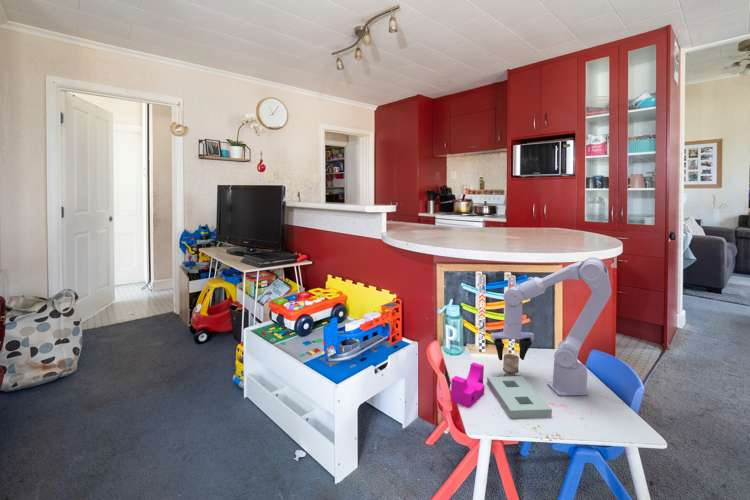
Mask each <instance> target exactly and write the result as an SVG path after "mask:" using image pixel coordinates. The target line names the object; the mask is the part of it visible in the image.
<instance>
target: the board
mask: <svg viewBox="0 0 750 500" xmlns="http://www.w3.org/2000/svg"><path fill="white" fill-rule="evenodd" d="M486 385H487V386H488V388H489V389H490V390H491V392H492V394H493V395H494V397H495V398H496V399H497V401H498V402H499V404H500V405H501V407H502V408H503V410H504V412H505V413H506V414H507V416H508V417H509V419H512V420H513V419H542V418H547V419H548V418H552V414H553V410H552V409H553V408H551V407H550V405H549V404H548V403H547V402H546V400H544V398H543V397H542V396H541V395H540V394H539V393H538V392H537V391H536V390H535V388H533V386H532V385H531V384H530V383H529V382H528V380H526V379H525V377H524V376H522V375H515V376H487V377H486Z"/></svg>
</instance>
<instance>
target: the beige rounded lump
mask: <svg viewBox="0 0 750 500" xmlns="http://www.w3.org/2000/svg"><path fill="white" fill-rule="evenodd" d="M502 361H503V362H502V363H503V365H502V366H503V367H502V370H503V371H504V373H506V374H505V375H506V376H516V374H518V373H519V362H520V356H519V355H517V354H514V353H505V354H503V360H502ZM506 376H505V377H506Z"/></svg>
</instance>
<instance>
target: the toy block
mask: <svg viewBox="0 0 750 500" xmlns="http://www.w3.org/2000/svg"><path fill="white" fill-rule="evenodd" d="M484 367H485V365H483V364H481V363H477V362H471V363H470V367H469V372H468V375H467V377H466V378H465V377H461V376H458V375H455V376H453V377H452V378H451V379H450V381H451V382H450V383H451V387H450V389H451V390H450V401H451V402H453V403H456V404H458V405H461V406H463V407H466V408H469V409H470V408H471V407H473V405H474V404H476V403H477V401H479V400H480V399H481V398H482V397H483V396H484V395H485V384H484V372H485V370H484V369H485V368H484Z"/></svg>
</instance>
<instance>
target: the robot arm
mask: <svg viewBox="0 0 750 500" xmlns="http://www.w3.org/2000/svg"><path fill="white" fill-rule="evenodd" d="M609 274H610V273H609V269H608V267H607V266H606V264H605V263H604V262H603V260H601V258H599V257H588V258H587V259H585V260H584V261H583V260H580V261H576V262H575V263H571V264H569V265H567V266H565V267H563V268H561V269H559V270H557V271H555V272H553V273H551V274H548V275H546V276H544V277H542V278H541V277H538V276H535V277H533V276H530V277H528V278H527V280H526V281H523V282H521V283H516V284H514V286H511V287H510V288H508V289H507V290H506V291H505V292H504V294H503V300H504V302H505V303H504V314H503V315H504V317H503V331H499V332H491V333H490V339H491V341H492V342H493V343H494V346H495V348H496V352H497V359H498V360H499V361H503V359H504V352H503V351H504V347H505V343H504V342H503V341H505V340H519V355H518V357H519V359H520V360H522V361H524V360H525V357H526V354H527V352H528V350H529V349H530V348H531V346H532V344H533V340H534V339H535V334H534V333H533V332H525V331H522V327H523V326H522V324H523V302H524V301H529V300H530V299H533V298H535V297H538V296H540V295H543V294H544V293H545V292H546V289H547V288H548V287H551V286H554V285H556V284H559V283H560V282H563V281H566V280H569V279H572V280H577V281H580V280H581V279H582V280H583V281H584V282H585V283H586V284H587V285H588V287H589V289H590V291H591V295H590V297H589V298H588V300H587V301H586V303H585V305H584V307H583V308H582V311H581V312H580V313H579V315H578V317H577V319H576V321H575V322H574V324H573V326H572V328H571V329H570V331H569V333H568V334H567V336H566V337H565V338H564V339H563V340H561V341H560V342H559V343H558V347H557V350H556V351H554V355H553V357H554V359H553V371H552V372H553V373H552V381H548V382H547V385H548V386H549V387H550V389H552V390H553V391H554V392H555V393H556V395H558V396H559V397H561V396H562V397H563V396H564V397H565V396H566V397H567V396H587V395H588V392H587V389H588V388H587V386H588V370H587V367H586V366H585V364H584V363H582V362H579V361H578V360H577V359H578V356H579V353H580V349H581V347H582V345H583V343H584V342H585V340H586V338H587V337H588V335H589V333H590V332H591V330H592V328H593V326H594V324H595V323H596V321H597V320H598V319H599V316H600V315H601V313H602V311H603V310H604V308H605V306H606V304H607V303H608V301H609V299H610V298H611V297H612V296H611V295H612V288H611V287H612V285H611V282H610V281H611V280H610V276H609Z"/></svg>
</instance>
